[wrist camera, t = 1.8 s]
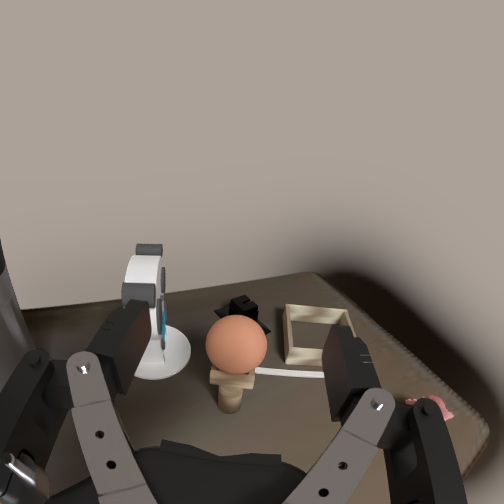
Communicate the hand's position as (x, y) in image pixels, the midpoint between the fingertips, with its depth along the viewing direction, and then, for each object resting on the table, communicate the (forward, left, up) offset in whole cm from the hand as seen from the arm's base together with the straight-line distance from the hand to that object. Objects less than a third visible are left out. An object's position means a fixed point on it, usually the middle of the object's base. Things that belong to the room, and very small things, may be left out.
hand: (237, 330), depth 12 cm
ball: (0, +11, -12) cm, 16 cm away
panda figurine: (-12, +18, -23) cm, 32 cm away
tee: (0, +11, -23) cm, 25 cm away
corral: (+13, +25, -23) cm, 36 cm away
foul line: (+8, +18, -23) cm, 30 cm away
